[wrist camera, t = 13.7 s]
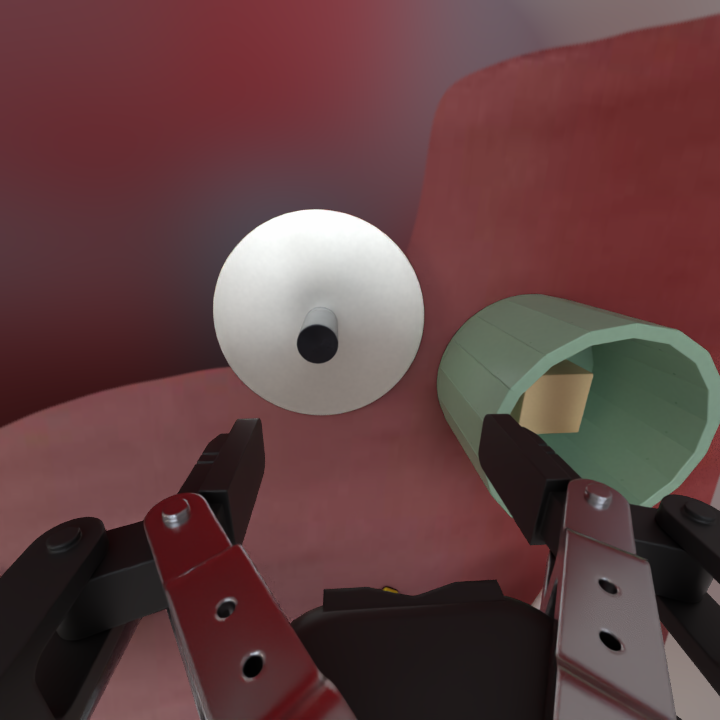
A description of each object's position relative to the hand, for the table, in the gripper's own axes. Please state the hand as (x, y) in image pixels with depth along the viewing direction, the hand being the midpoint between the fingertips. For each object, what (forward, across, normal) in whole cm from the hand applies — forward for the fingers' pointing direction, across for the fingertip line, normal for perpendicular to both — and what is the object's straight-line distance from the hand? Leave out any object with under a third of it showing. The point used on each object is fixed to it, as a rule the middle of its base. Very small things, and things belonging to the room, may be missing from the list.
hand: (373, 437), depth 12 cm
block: (+14, -14, +4) cm, 20 cm away
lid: (+14, +2, -1) cm, 14 cm away
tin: (+14, -14, +4) cm, 20 cm away
